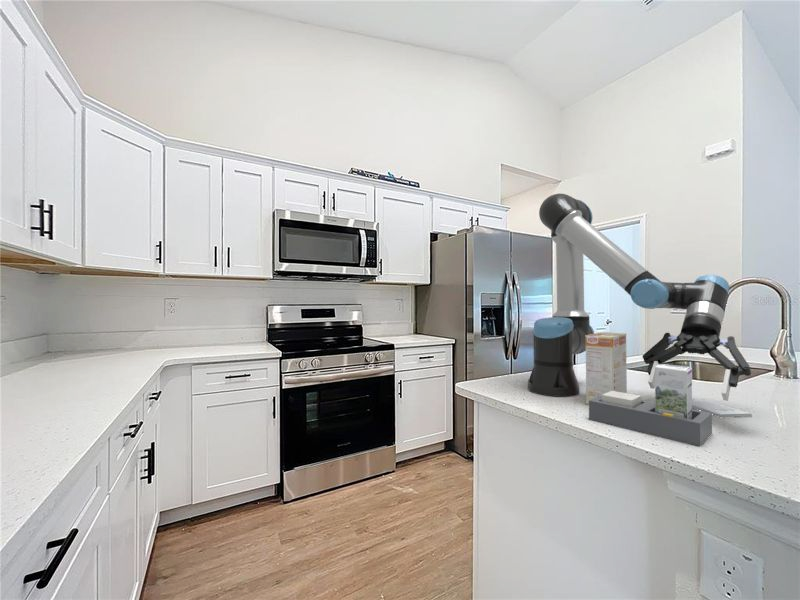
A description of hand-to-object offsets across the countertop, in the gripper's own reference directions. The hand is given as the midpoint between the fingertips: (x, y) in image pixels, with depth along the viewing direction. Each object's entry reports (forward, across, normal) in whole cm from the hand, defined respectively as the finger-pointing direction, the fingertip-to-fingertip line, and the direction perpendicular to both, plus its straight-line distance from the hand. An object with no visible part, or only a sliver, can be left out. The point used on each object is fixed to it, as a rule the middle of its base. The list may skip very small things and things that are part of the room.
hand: (685, 390), depth 82 cm
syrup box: (+11, 0, 0) cm, 11 cm away
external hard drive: (-8, -1, -20) cm, 22 cm away
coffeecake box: (+2, +20, -10) cm, 22 cm away
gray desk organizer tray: (+11, +5, 0) cm, 13 cm away
